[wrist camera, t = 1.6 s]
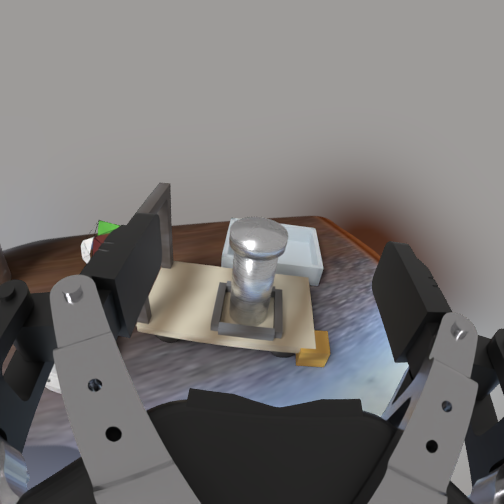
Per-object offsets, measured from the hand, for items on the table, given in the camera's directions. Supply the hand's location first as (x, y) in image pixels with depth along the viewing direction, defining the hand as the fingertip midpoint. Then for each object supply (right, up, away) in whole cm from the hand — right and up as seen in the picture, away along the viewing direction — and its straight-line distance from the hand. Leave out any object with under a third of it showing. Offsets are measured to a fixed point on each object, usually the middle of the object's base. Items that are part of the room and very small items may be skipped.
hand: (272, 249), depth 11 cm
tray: (+2, -1, +34) cm, 34 cm away
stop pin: (-1, -6, +22) cm, 23 cm away
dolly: (-3, -7, +24) cm, 26 cm away
